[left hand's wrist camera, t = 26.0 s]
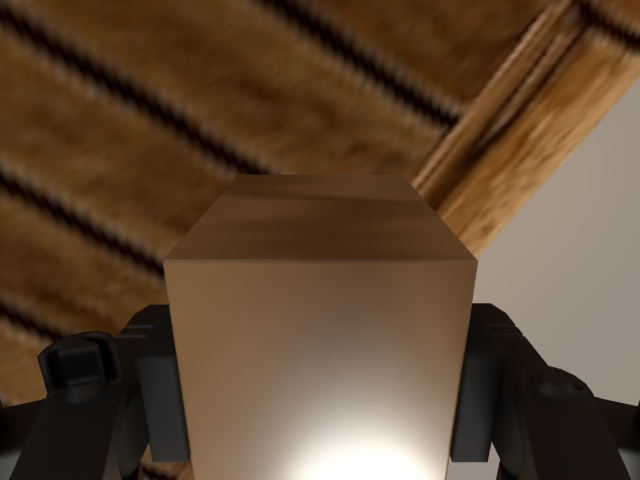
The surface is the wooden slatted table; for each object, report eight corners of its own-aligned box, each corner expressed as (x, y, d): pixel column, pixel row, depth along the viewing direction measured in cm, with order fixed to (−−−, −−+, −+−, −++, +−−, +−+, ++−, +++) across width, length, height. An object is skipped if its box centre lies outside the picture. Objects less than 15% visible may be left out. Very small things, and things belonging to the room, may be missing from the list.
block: (248, 334, 16) (197, 513, 10) (237, 174, 14) (161, 260, 7) (391, 334, 17) (442, 513, 10) (402, 174, 14) (479, 260, 7)
